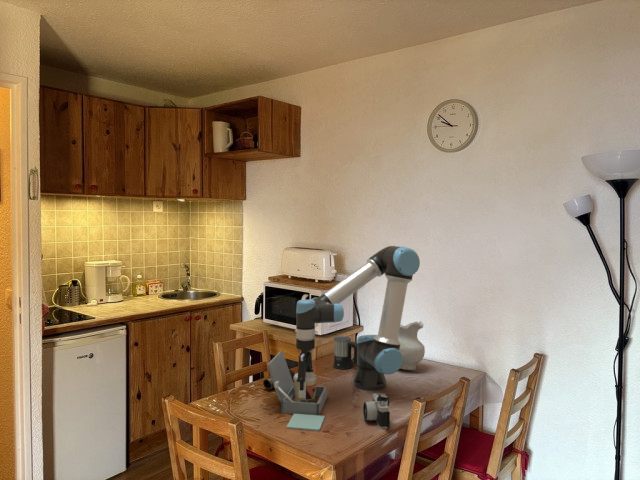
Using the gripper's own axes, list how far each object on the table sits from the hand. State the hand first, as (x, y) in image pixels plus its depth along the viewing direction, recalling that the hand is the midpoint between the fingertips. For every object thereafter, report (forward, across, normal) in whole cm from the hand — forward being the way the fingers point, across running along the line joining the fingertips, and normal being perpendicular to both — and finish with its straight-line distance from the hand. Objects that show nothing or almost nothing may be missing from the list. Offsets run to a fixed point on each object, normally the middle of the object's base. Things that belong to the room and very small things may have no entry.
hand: (305, 392), depth 191 cm
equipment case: (+5, 0, 0) cm, 5 cm away
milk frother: (+5, -57, +11) cm, 58 cm away
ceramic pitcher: (+5, -59, +39) cm, 71 cm away
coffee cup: (+5, 0, 0) cm, 5 cm away
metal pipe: (+8, -15, -18) cm, 25 cm away
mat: (+5, +17, +4) cm, 18 cm away
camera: (+5, +10, +29) cm, 31 cm away
